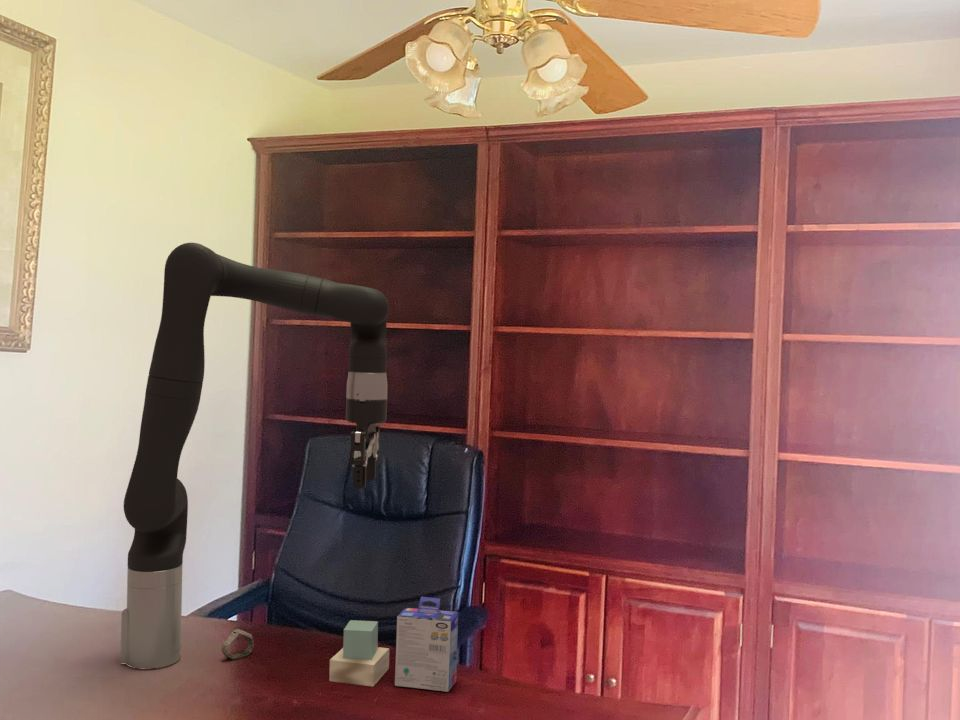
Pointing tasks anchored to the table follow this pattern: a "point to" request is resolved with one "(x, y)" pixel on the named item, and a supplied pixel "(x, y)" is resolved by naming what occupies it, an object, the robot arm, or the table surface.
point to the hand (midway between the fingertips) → (364, 483)
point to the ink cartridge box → (426, 647)
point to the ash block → (359, 668)
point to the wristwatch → (232, 638)
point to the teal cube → (360, 640)
